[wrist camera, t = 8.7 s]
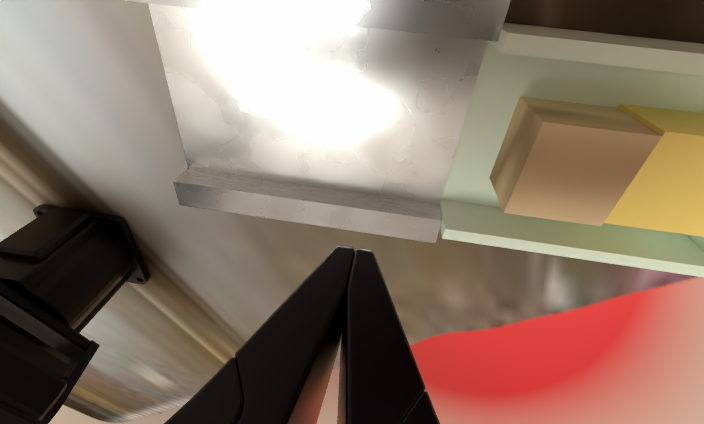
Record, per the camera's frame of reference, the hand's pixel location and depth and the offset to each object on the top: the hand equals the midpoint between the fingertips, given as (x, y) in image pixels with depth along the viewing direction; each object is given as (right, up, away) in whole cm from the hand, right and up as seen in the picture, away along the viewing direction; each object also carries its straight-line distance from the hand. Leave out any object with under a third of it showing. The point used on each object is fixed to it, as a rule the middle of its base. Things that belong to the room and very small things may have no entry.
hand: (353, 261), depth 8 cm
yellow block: (+13, +4, +7) cm, 15 cm away
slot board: (-2, +6, +9) cm, 11 cm away
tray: (+12, +4, +8) cm, 15 cm away
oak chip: (+9, +4, +7) cm, 12 cm away
